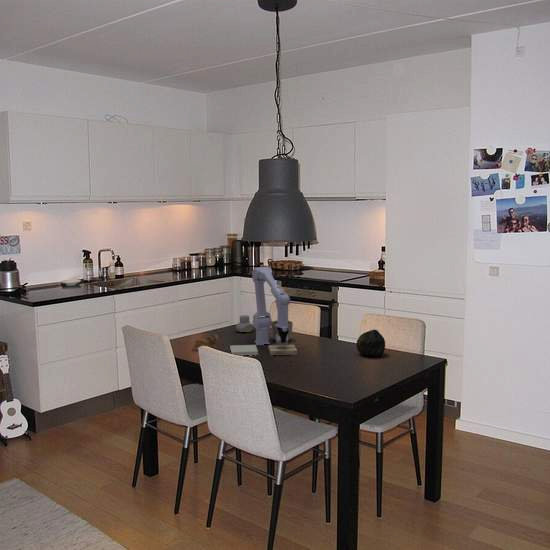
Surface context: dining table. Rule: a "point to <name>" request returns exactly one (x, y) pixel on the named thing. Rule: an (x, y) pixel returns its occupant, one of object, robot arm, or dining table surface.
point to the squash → (371, 343)
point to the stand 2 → (283, 349)
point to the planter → (275, 331)
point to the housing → (278, 340)
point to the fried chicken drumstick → (207, 341)
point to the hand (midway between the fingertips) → (282, 341)
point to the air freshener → (244, 324)
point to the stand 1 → (244, 350)
